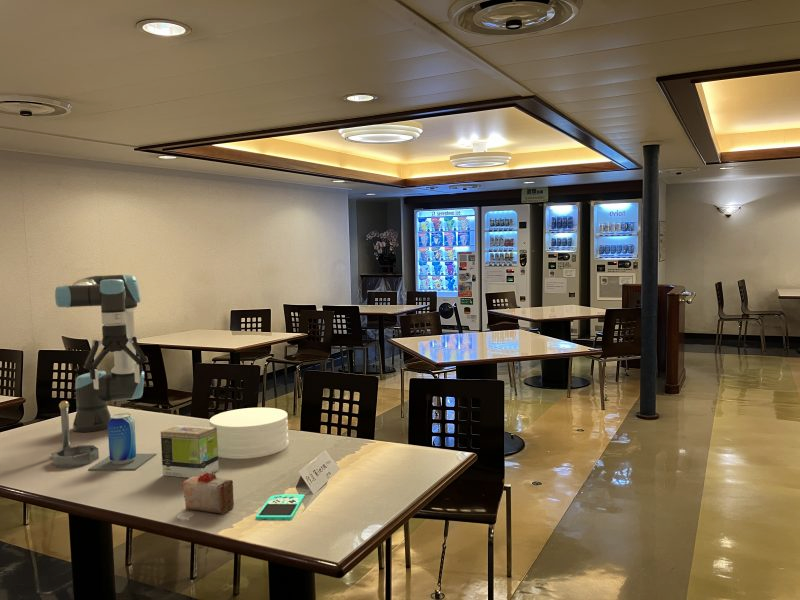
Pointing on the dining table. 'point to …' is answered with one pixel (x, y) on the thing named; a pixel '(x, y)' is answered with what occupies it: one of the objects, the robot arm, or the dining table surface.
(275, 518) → the handheld game console
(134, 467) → the rubber mat
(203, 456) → the tea box
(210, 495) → the food item
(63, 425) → the ring stand
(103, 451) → the dining table surface
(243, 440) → the plate stack
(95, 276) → the robot arm
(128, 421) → the beer can
